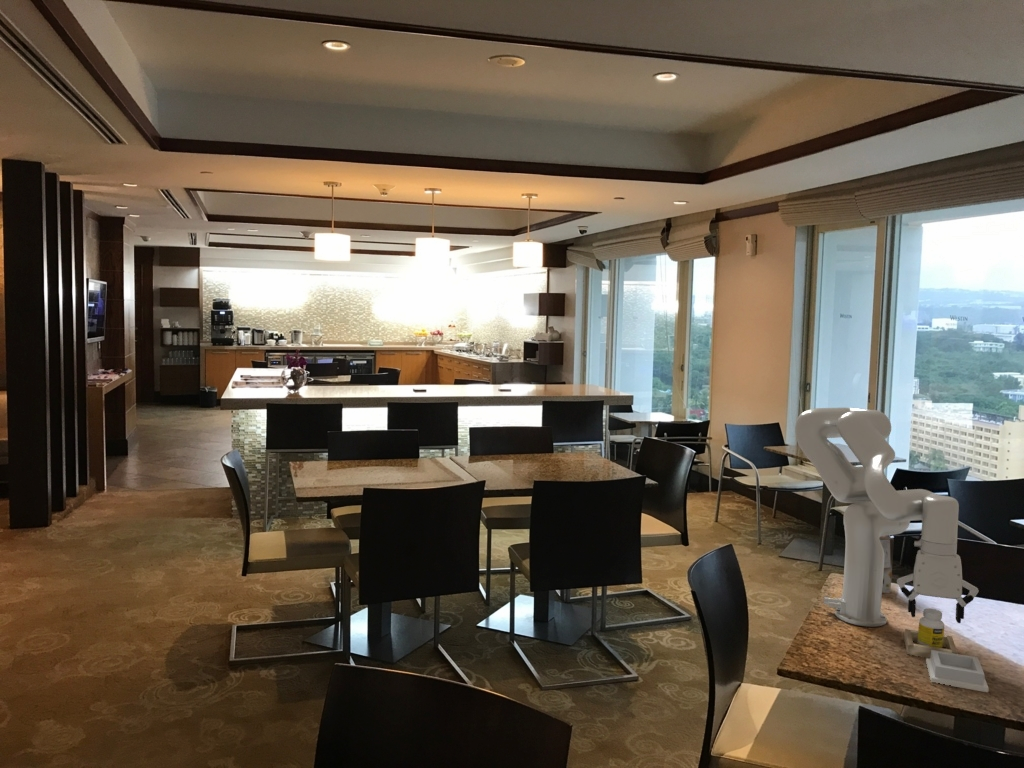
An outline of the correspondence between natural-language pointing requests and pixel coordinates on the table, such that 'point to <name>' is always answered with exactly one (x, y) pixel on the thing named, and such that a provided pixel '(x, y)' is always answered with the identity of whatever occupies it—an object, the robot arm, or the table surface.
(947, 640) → the beige square frame
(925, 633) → the supplement bottle
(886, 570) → the coffee box
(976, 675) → the socket
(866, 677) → the table surface
